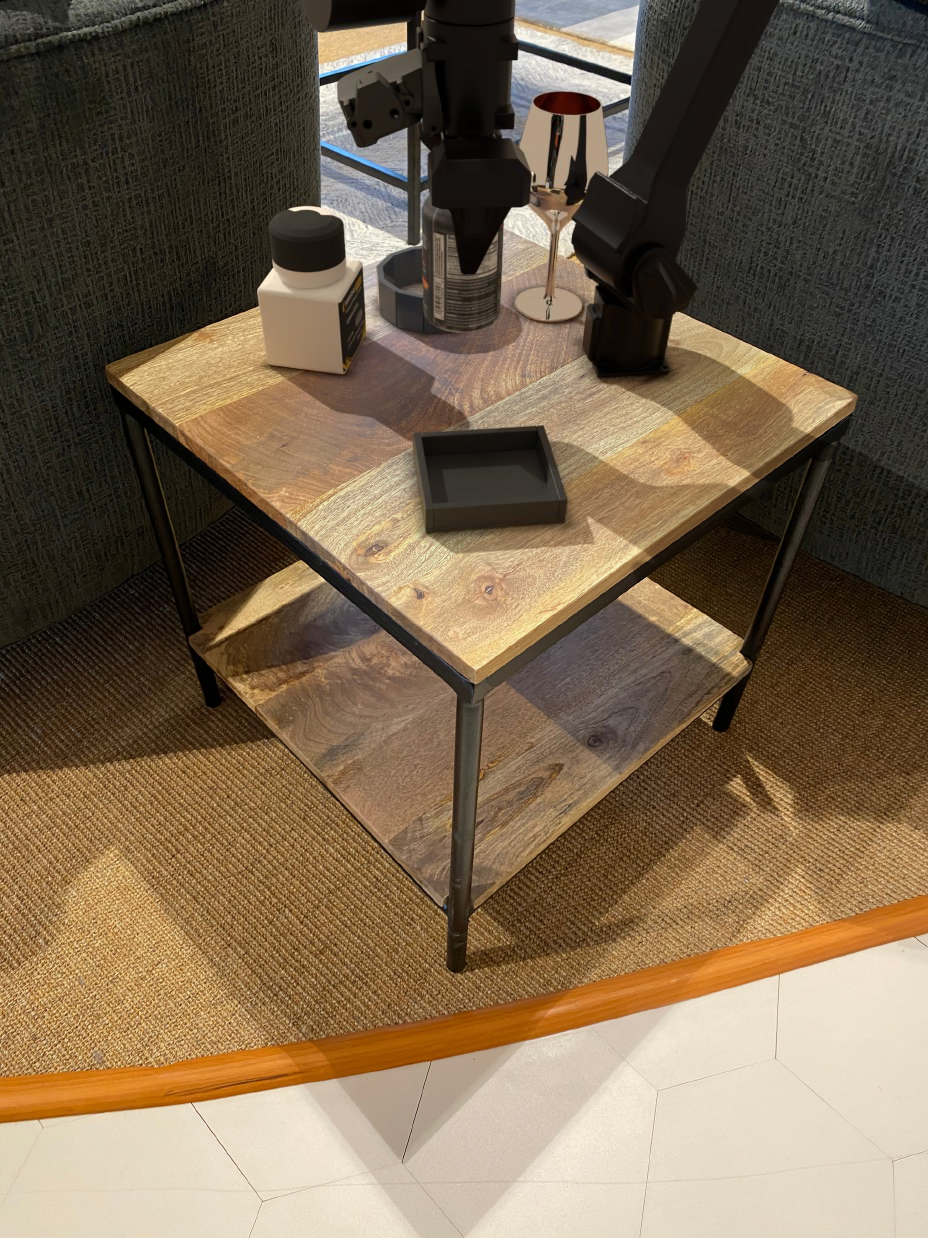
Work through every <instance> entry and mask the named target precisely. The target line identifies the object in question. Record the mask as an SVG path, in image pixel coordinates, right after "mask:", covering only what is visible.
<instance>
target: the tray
mask: <svg viewBox="0 0 928 1238" xmlns="http://www.w3.org/2000/svg"><path fill="white" fill-rule="evenodd" d="M545 428H546V427H545V426H544V425H542V424H541V425H528V426H527V425H524V426H523V425H522V426H509V427H508V426H507V427H493V428H491V427H490V428H475V429H459V430H457V429H456V430H443V431H439V430H438V431H423V432H413V433H412V455H413V456H412V457H413V462H414V469H415V475H416V481H417V488H418V494H419V501H420V506H421V513H422V519H423V524H424V525H423V526H424V530H425V531H424V532H425V533H426V534H431V533H442V532H444V533H445V532H457V531H458V532H459V531H473V530H485V529H497V528H498V529H500V528H512V527H513V528H514V527H530V526H542V525H556V524H565V523H566V517H567V510H568V501H569V499H568V495H567V493H566V490H565V487H564V484H563V480H562V478H561V475H560V471H559V468H558V464H557V462H556V459H555V456H554V452H553V450H552V447H551V443H550V441H549V438H548V435H547V431H546V429H545Z"/></svg>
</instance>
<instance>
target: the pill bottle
mask: <svg viewBox="0 0 928 1238" xmlns="http://www.w3.org/2000/svg"><path fill="white" fill-rule="evenodd" d="M504 227H505V221H504V222H503V223H502V225H501V227H500V229H499V231H498V233H497V235H496V236H495V238H494V240H493V242H492V244H491V246H490V248H489V250H488V252H487V254H486V255H485V257H484V259H483V261H482V263H481V265H480V267H479V269H478V271H477V273H476V274H471V275H463V274H462V273H461V271H460V265H459V260H458V254H457V248H456V242H455V236H454V231H453V225H452V219H451V213H450V211H449V210H448V209H439V208H437V207H434V206H432V205H431V200H430V194H428V195H427V196H426V197H425V200H424V201H423V204H422V207H421V241H422V243H421V244H422V245H421V246H422V258H423V283H422V295H423V307H424V308H423V311H424V315H425V317H426V319H427V320H428V321H429V322H430V323H431V324H433V325H434V326H436V327H438V328H440V329H443V330H446V331H451V332H450V333H461V334H462V333H463V334H464V333H473V332H474V333H475V332H478V331H482V330H484V329H486V328H488V327H491V326H492V325H493V324H495V323H496V322H497V321H498V318H499V316H500V312H501V297H502V281H503V279H502V278H503V277H502V275H503V259H504V258H503V256H504V251H503V250H504V230H505V229H504Z"/></svg>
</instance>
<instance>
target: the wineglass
mask: <svg viewBox="0 0 928 1238" xmlns="http://www.w3.org/2000/svg"><path fill="white" fill-rule="evenodd" d="M604 118H605V117H604V112H603V104H602V102H601V100H600V99H599V98H598V97H595V96H593V95H590V94H587V93H583V92H578V91H571V90H553V91H547V92H543V93H540V94H538V95H536V96H534V97H533V98H532V101H531V104H530V107H529V110H528V113H527V115H526V119H525V122H524V125H523V127H522V132H521V135H520V138H519V142H518V144H517V146H518V147H519V148H520V149H521V150H522V151H523V152H524V154H525V157H526V160H527V162H528V165H529V168H530V170H531V173H532V178H531V192H530V204H528V205H526V206H527V207H528V208H529V209H530V210H531V211H532V212H533V213H534V214H535V215H536V216H538V217H539V218H540V219H541V221H543V223H544V224H545V225H546V227H547V229H548V230H549V234H550V235H549V248H548V249H549V250H548V260H547V271H546V281H545V286H538V287H533V288H529V289H526V290H524V291H522V292H520V293H519V294H518V295H517V296H516V298H515V300H514V305H515V308H516V310H517V311H518V313H520V314H521V315H523V316H524V317H526V318H528V319H531V320H533V321H534V320H535V321H537V322H538V321H539V322H543V323H560V322H565V321H569V320H571V319H574V318H576V317H577V316H578V315H579V314H581V312H582V309H583V303H582V301H581V299H580V298H579V296H577V295H576V294H575V293H573V292H570V291H569V290H566V289H563V288H558V287H556V273H557V262H558V253H559V251H558V250H559V241H560V234H561V232H562V231H563V229H564V228H565V227H567V225H568V224H569V223H571V222H573V220H572V219H571V217H572V216H573V215H574V213H575V212H576V211H577V210H578V208H579V207H580V205H581V203H582V201H583V199H584V197H585V194H586V190H587V187H588V184H589V181H590V179H591V177H592V176H593V175H594V173H595V172H597V171H599V172H601V173H602V174H604V175H605V176H607V177H609V151H608V142H607V134H606V127H605V119H604Z"/></svg>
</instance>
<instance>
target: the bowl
mask: <svg viewBox="0 0 928 1238" xmlns="http://www.w3.org/2000/svg"><path fill="white" fill-rule="evenodd" d="M375 269H376V292H377V294H376V295H377V305H378V313H379V315H380V317H382V318H383V319H385V320H386V321H387V322H389V324H391V325H393V326H394V327H396V328H399V329H403V330H407V331H412V332H416V333H420V334H442V333H443V334H444V333H452V332H451V331H446V330H443V329H440V328H438V327H436V326H434V325H433V324H431V323H430V322H429V321H428V320H427V319H426V317H425V315H424V311H423V308H424V307H423V293H422V294H421V293H417V292H413V291H408V290H404V289H402V288H404V287H408V286H410V285H413V284H423V258H422V245H413V246H410V247H406V248H403V249H400V250H396V251H394V252H391V253H389V254H388V253H387V255H386V256H385V257H384V258H383V259H382V260H381V261H380V262H379V263H378V264H376V268H375Z"/></svg>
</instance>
